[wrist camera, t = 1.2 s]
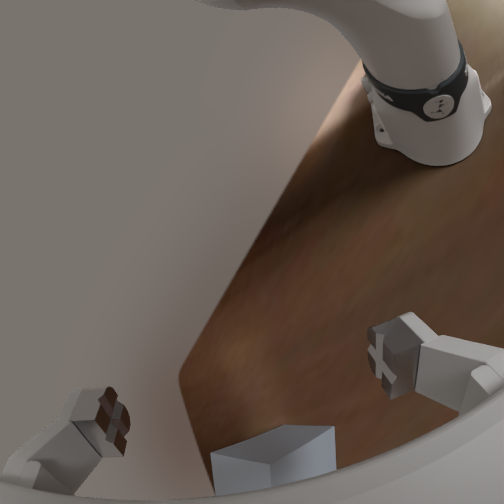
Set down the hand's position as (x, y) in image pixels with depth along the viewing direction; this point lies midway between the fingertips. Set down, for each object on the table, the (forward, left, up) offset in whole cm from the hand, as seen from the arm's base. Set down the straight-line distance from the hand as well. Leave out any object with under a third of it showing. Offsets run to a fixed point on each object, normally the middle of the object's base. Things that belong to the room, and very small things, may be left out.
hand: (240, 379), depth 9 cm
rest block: (+18, -16, -32) cm, 40 cm away
